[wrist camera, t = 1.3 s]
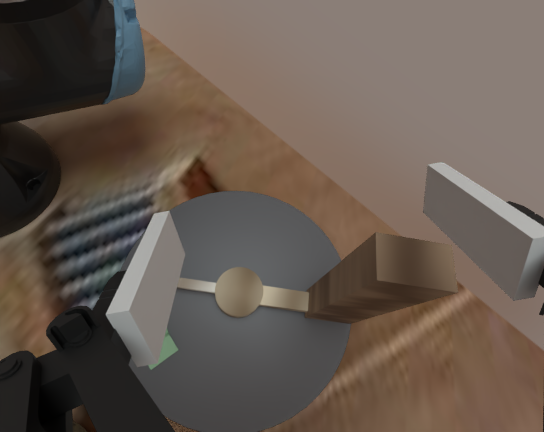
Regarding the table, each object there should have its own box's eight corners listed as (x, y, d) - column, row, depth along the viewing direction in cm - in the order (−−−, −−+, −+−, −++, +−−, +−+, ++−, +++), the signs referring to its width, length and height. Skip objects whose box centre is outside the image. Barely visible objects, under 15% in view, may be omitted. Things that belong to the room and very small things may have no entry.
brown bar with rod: (129, 302, 33) (36, 246, 17) (143, 256, 35) (73, 166, 19) (348, 333, 35) (460, 310, 18) (348, 288, 37) (449, 230, 20)
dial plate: (78, 259, 36) (71, 254, 34) (270, 166, 44) (272, 159, 43) (187, 499, 29) (185, 507, 27) (390, 333, 37) (397, 332, 36)
